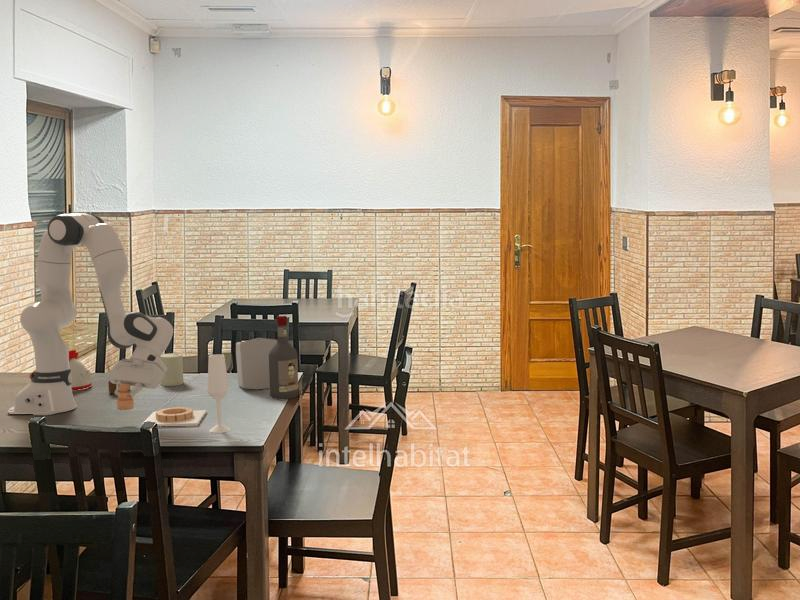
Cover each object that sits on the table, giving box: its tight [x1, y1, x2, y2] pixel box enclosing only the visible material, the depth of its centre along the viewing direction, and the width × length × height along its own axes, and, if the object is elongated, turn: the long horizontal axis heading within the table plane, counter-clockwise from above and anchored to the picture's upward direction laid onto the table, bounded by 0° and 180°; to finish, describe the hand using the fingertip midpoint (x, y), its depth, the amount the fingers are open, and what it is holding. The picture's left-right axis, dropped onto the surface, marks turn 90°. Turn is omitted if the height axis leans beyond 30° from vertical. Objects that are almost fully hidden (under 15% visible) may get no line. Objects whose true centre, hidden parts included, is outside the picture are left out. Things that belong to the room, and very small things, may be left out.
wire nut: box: [116, 383, 135, 411], centre depth 294 cm, size 5×5×8 cm
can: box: [159, 352, 185, 387], centre depth 357 cm, size 9×9×12 cm
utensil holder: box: [106, 362, 116, 395], centre depth 341 cm, size 6×6×12 cm
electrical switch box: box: [235, 337, 278, 390], centre depth 350 cm, size 15×15×20 cm
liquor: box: [269, 315, 299, 400], centre depth 329 cm, size 9×9×30 cm
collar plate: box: [140, 406, 207, 428], centre depth 298 cm, size 18×18×3 cm
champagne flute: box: [206, 354, 231, 434], centre depth 282 cm, size 7×7×24 cm
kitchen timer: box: [68, 349, 93, 390], centre depth 352 cm, size 14×14×15 cm
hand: (123, 395), depth 293 cm, fingers closed on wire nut, 4 cm apart
